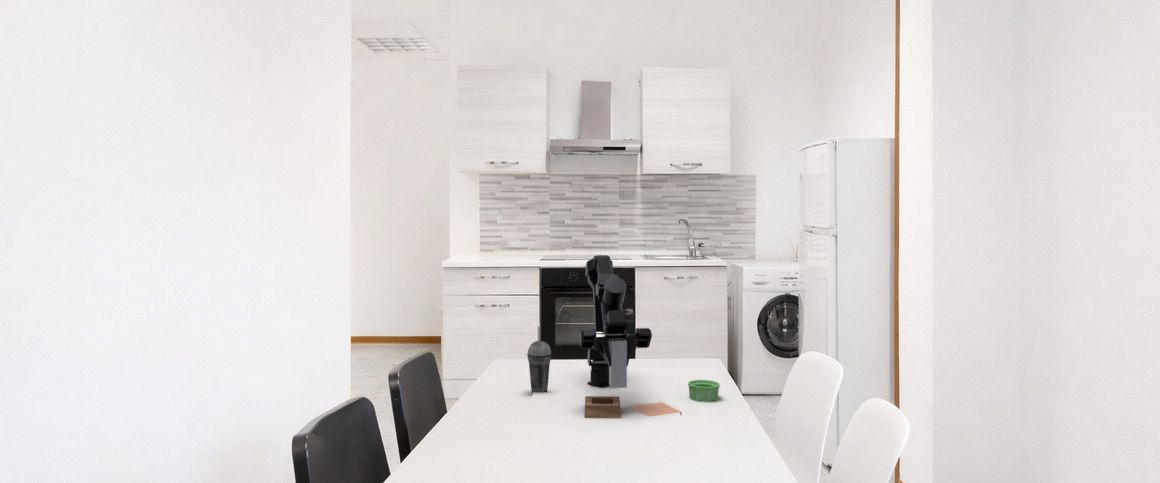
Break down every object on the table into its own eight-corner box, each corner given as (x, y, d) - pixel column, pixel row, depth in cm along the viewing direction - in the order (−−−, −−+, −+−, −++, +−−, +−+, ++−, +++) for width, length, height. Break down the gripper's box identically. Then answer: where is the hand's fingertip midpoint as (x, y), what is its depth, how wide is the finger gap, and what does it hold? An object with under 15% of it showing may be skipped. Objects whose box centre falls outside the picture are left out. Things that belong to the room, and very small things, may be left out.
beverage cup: (553, 390, 187) (553, 324, 187) (549, 397, 180) (549, 328, 180) (529, 390, 188) (529, 323, 188) (524, 396, 181) (524, 327, 180)
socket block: (585, 411, 166) (585, 396, 166) (619, 411, 166) (619, 396, 166) (584, 421, 157) (584, 405, 157) (620, 421, 157) (620, 406, 157)
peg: (609, 384, 163) (609, 338, 163) (624, 383, 164) (624, 338, 163) (611, 387, 159) (611, 341, 159) (626, 387, 160) (626, 340, 160)
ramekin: (684, 400, 177) (684, 385, 177) (691, 393, 185) (691, 378, 185) (716, 404, 173) (716, 388, 173) (722, 396, 182) (722, 381, 182)
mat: (629, 409, 167) (629, 406, 167) (661, 405, 171) (661, 402, 171) (647, 420, 158) (647, 416, 158) (681, 415, 162) (681, 411, 162)
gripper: (580, 298, 164) (584, 348, 153) (650, 297, 166) (659, 347, 155) (578, 323, 172) (581, 372, 161) (644, 322, 174) (652, 371, 163)
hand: (618, 365), depth 160 cm, fingers closed on peg, 4 cm apart
